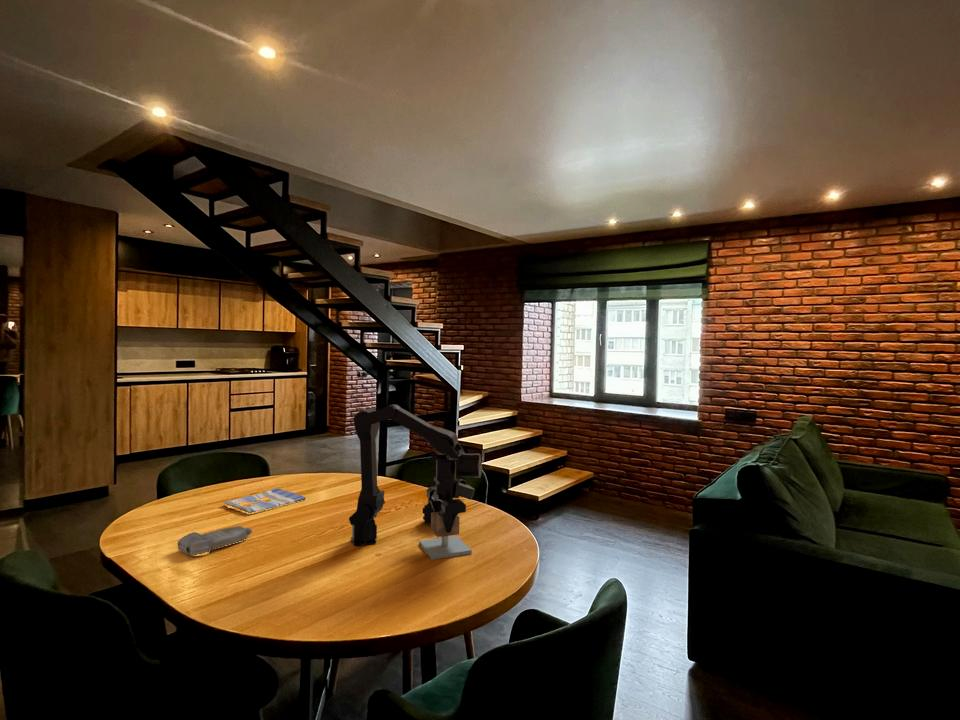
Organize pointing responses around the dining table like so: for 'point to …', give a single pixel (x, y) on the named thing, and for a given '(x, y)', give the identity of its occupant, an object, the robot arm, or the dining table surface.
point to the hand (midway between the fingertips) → (444, 528)
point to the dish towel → (274, 495)
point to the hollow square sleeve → (439, 526)
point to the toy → (428, 512)
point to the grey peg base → (444, 547)
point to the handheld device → (212, 540)
